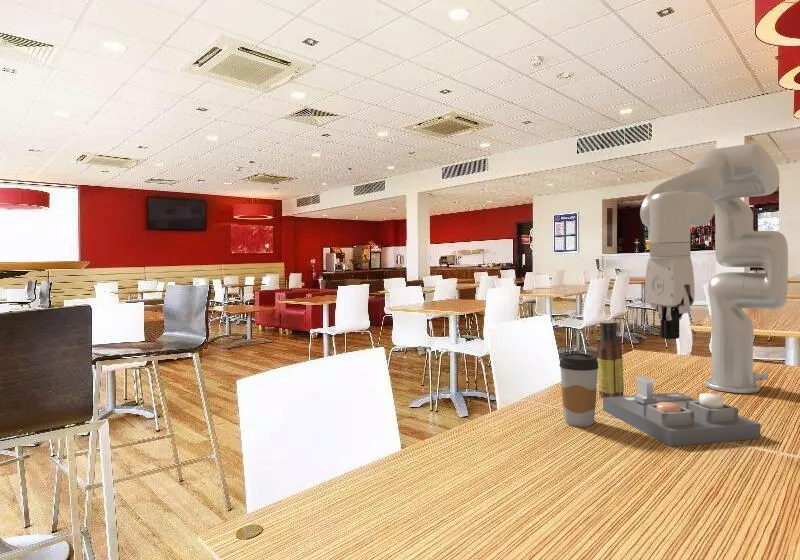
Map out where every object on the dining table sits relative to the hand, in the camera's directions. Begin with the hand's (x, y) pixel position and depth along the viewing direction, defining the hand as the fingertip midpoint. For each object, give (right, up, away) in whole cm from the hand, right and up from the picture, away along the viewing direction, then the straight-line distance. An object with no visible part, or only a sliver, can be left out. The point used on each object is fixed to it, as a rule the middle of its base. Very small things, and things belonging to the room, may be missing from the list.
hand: (670, 338), depth 108 cm
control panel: (+4, -19, +5) cm, 20 cm away
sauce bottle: (-2, -19, +26) cm, 32 cm away
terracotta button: (-1, -16, -2) cm, 16 cm away
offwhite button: (+8, -15, -1) cm, 17 cm away
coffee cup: (-17, -20, +7) cm, 27 cm away
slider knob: (0, -16, +10) cm, 19 cm away
